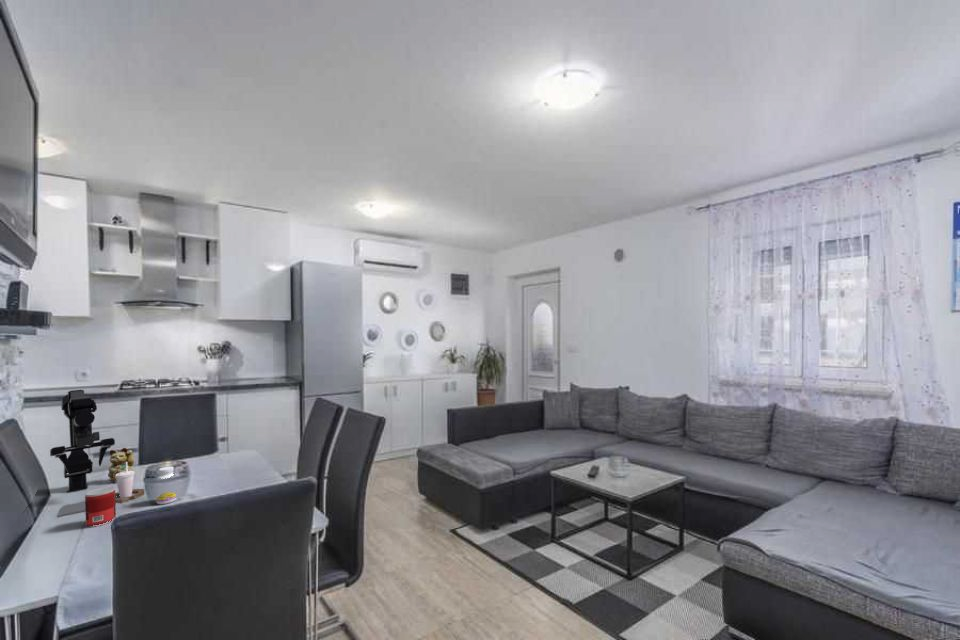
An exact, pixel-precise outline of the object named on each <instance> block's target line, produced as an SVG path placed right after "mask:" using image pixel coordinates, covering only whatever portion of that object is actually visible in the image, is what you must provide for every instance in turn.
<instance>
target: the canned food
mask: <svg viewBox="0 0 960 640" xmlns="http://www.w3.org/2000/svg"><path fill="white" fill-rule="evenodd" d="M115 493H116V488H115V486H105V487H99V488H96V489H92V490H89V491H87V492H86V493H85V494H84V495H85V496H84V501H85V511H84V512H85V525H86V526H87V527H88V526H93V525H99V524H103V523H106V522H107V521H108V522H109V521H110V520H111V521H112V519H113V518H114V517H115V518H116V516H117V510H116V509H117V508H116V501H115ZM111 521H110V523H112V522H113V521H112V522H111Z"/></svg>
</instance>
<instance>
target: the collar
mask: <svg viewBox="0 0 960 640" xmlns="http://www.w3.org/2000/svg"><path fill="white" fill-rule="evenodd" d="M144 495H145V489H144V488H133V489H132V496H129V497H124V498H120V496H119V491H117V492H115V497H116V496H118V497H116V498H115V501H116V502H117V503H118V502H119V503H121V504H123V503H128V502H129V501H132V500H136V499H137V498H140V497H142V496H144Z"/></svg>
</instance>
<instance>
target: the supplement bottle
mask: <svg viewBox="0 0 960 640" xmlns="http://www.w3.org/2000/svg"><path fill="white" fill-rule="evenodd" d="M174 470H175V469H174V466H165V467H161V468H159V469H158V474H159V475H158V476H159V478H161V479H165V478H166V479H167V478H170V477H171V476H173V475H174V474H173V473H174ZM177 499H178V497H177V498H176V494H174V493H165V494H164V493H163V494H161V495H160V496H159V497H158V498H157V500H156V499H155V500H156V502H157V503H156V502H155V503H156V504H157V505H166V504H171V503H173V502H175V501H176V500H177Z"/></svg>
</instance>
